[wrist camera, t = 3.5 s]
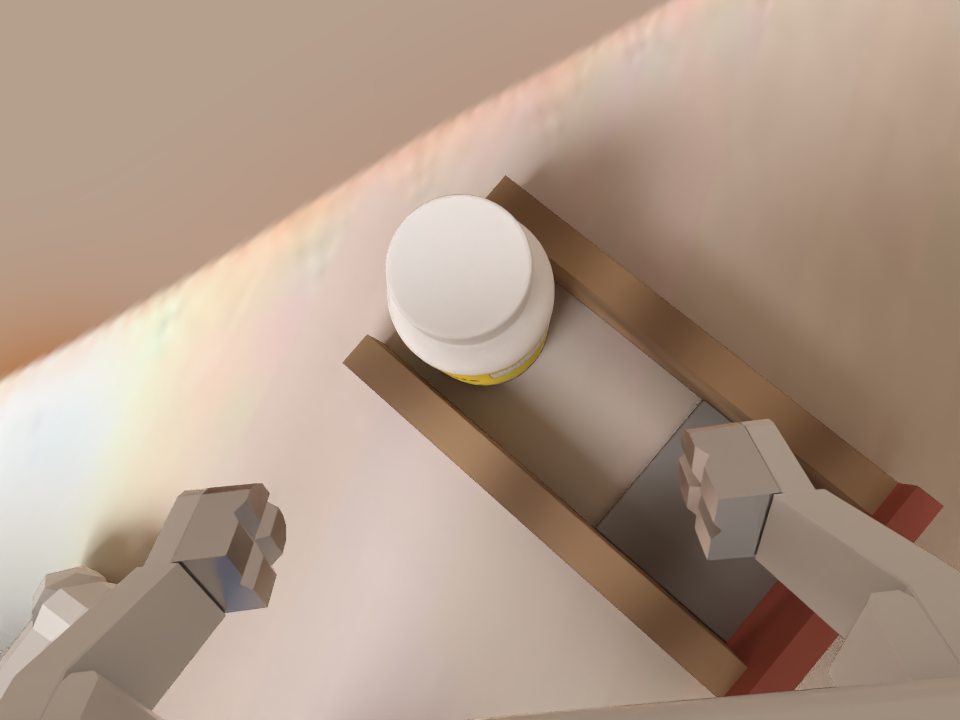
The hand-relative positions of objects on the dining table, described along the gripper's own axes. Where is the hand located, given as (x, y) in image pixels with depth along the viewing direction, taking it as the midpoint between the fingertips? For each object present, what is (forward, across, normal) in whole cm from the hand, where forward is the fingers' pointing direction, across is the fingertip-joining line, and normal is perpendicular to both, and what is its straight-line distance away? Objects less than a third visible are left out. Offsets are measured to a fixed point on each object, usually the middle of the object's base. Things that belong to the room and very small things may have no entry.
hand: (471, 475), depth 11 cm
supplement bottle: (+13, 0, -6) cm, 14 cm away
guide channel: (+10, +4, -9) cm, 14 cm away
